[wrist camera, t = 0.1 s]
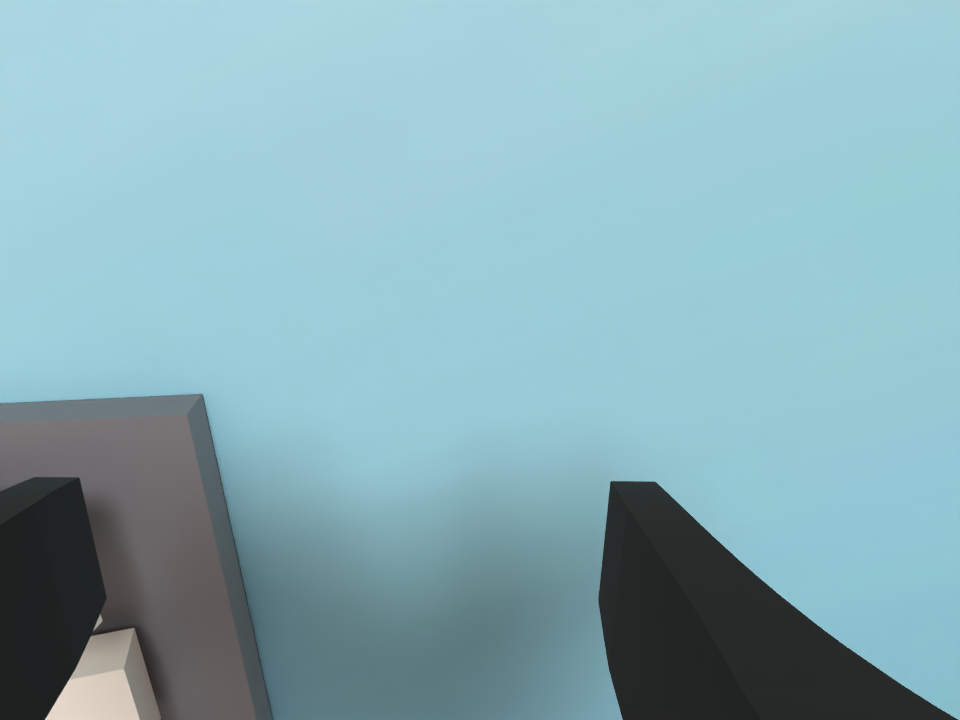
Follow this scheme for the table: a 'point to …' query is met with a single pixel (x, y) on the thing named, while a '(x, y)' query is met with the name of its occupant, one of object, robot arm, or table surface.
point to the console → (153, 540)
